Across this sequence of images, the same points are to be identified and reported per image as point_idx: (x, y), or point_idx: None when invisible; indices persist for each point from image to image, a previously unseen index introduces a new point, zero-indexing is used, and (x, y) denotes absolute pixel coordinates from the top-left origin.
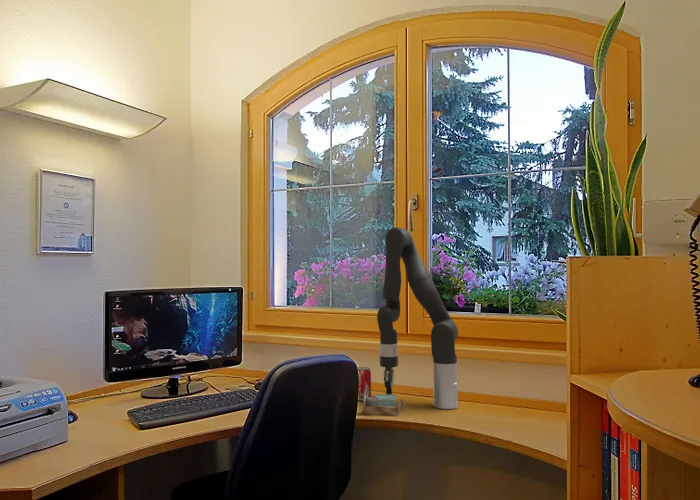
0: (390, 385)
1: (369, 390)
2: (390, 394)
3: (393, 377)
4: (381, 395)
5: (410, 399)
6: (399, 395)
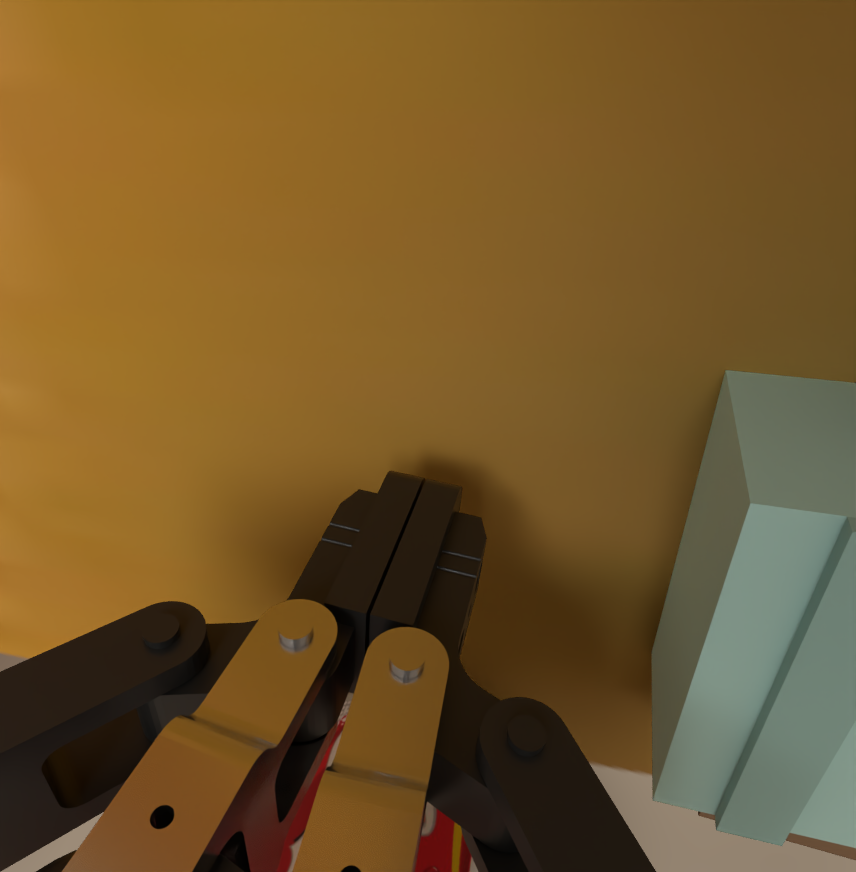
0: (605, 800)
1: (451, 847)
2: (471, 542)
3: (148, 861)
4: (816, 777)
5: (264, 7)
6: (21, 263)
